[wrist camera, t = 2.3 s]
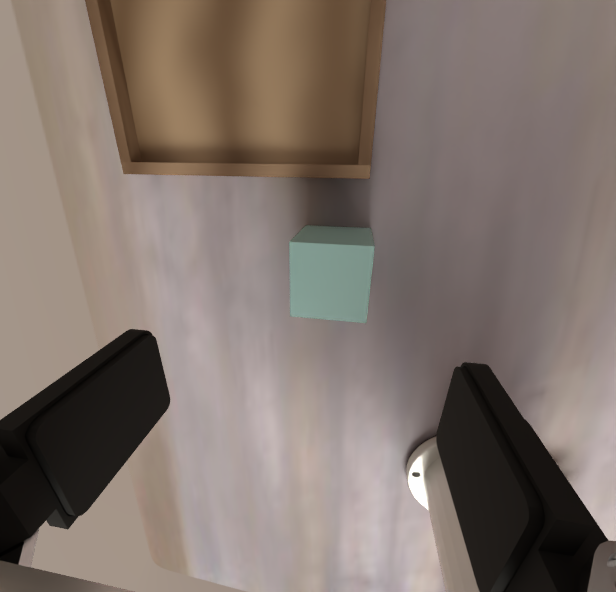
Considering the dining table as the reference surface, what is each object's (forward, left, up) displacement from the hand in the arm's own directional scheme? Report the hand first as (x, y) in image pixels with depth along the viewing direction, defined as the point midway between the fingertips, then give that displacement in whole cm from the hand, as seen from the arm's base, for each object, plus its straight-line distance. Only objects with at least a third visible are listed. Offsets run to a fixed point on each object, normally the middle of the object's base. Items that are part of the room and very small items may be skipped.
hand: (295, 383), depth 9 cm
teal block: (0, 0, -16) cm, 16 cm away
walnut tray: (+7, -15, -15) cm, 22 cm away
